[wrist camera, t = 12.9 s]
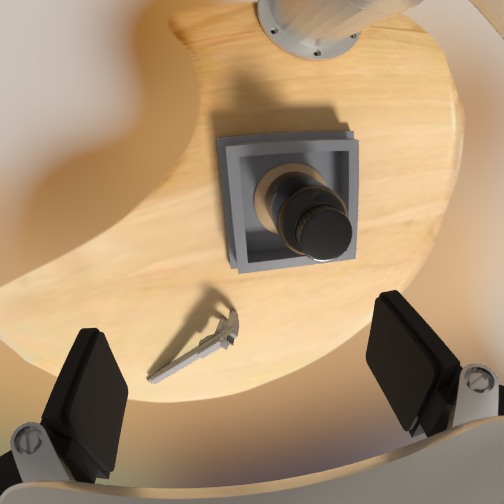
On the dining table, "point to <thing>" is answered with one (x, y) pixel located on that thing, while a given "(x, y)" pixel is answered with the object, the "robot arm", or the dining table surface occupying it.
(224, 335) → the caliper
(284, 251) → the housing
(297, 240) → the supplement bottle
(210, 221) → the dining table surface
